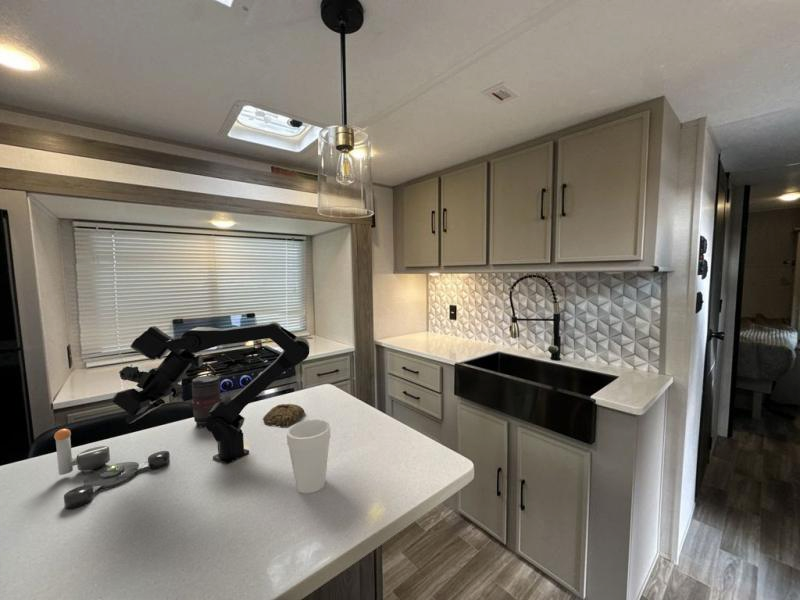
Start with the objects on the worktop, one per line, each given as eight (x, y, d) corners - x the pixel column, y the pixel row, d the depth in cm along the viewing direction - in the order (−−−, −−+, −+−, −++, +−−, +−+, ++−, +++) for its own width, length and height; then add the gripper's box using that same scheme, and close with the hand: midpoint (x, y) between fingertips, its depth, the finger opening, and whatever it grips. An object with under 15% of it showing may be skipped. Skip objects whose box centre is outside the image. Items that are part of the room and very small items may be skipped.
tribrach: (174, 463, 85) (173, 453, 85) (69, 512, 67) (68, 500, 67) (138, 447, 93) (138, 438, 93) (37, 488, 76) (36, 477, 75)
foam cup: (339, 476, 78) (337, 422, 77) (317, 501, 69) (314, 441, 68) (305, 469, 81) (303, 417, 80) (280, 493, 72) (277, 435, 71)
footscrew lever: (109, 454, 87) (106, 415, 87) (110, 463, 83) (107, 422, 82) (58, 469, 81) (54, 427, 80) (56, 479, 76) (52, 435, 76)
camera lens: (209, 429, 104) (206, 382, 103) (187, 427, 106) (184, 381, 105) (227, 418, 112) (225, 375, 111) (207, 417, 114) (204, 374, 113)
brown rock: (309, 413, 116) (308, 399, 115) (289, 429, 104) (289, 413, 103) (277, 410, 119) (276, 397, 118) (254, 425, 107) (253, 410, 106)
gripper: (165, 348, 92) (127, 394, 90) (116, 356, 73) (66, 414, 72) (199, 371, 92) (161, 417, 91) (158, 385, 74) (110, 444, 72)
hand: (128, 422), depth 81 cm, fingers closed
